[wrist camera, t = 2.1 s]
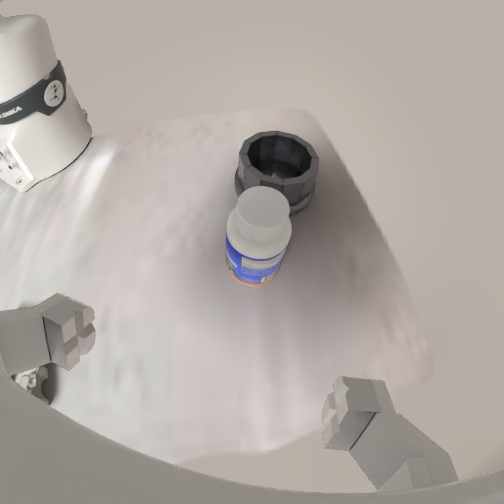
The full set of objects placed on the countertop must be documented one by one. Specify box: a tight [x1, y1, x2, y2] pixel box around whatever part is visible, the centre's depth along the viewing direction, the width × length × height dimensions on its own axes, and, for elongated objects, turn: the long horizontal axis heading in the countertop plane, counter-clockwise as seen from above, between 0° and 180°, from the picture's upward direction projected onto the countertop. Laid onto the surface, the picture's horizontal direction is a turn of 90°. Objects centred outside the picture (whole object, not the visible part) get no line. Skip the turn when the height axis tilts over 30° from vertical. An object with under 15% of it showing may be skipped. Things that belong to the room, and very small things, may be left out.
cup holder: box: [235, 131, 319, 215], centre depth 33 cm, size 10×10×5 cm
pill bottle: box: [226, 186, 292, 286], centre depth 26 cm, size 5×5×10 cm
